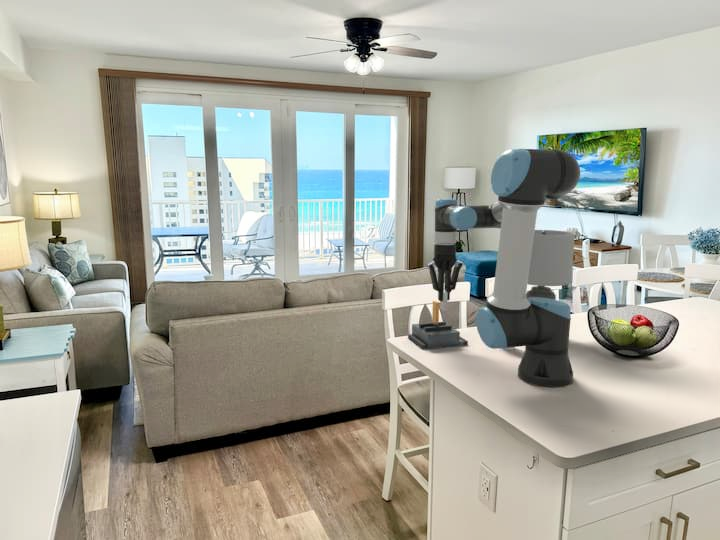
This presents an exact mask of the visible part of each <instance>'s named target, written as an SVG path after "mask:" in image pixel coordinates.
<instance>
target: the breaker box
mask: <svg viewBox="0 0 720 540" xmlns="http://www.w3.org/2000/svg"><path fill="white" fill-rule="evenodd" d="M411 334H412V335H413V336H415V337H416V338H417V339H419V340H420V341H422V342H423V343H424V344H426V349H427V350H431V349H442V348H451V347H460V346H459V341H460V337H461V336H460V335H461V332H460V331H459V330H457V329H455V328H454V327H453V325H451V324H447V323H446V321H439V326H435V325H433V324H432V322H425V323H423V322H422V323H412V324H411Z"/></svg>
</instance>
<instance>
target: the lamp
mask: <svg viewBox="0 0 720 540" xmlns="http://www.w3.org/2000/svg"><path fill="white" fill-rule="evenodd" d="M575 235H576V233H574V232H572V231H566V230H553V229H550V230H549V229H535V231H534V239H533V246H532V253H531V261H530V268H529V275H528V283H527V286H528V285H530V286H531V289H530V290H527V291H526V298H527V299H528V298H530V297H542V298H549V299H554V300H557V295H556V294H555V292H553V291H552V288H551V287H560V286H561V287H563V286H568V285H571V284H572V281H573V269H574V267H573V266H574V254H575V253H574V252H575V239H576V238H575V237H576V236H575Z"/></svg>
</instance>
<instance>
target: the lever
mask: <svg viewBox="0 0 720 540" xmlns="http://www.w3.org/2000/svg"><path fill="white" fill-rule="evenodd" d="M439 311H440V302H438V301H436V300H432V313H431V314H432V317H431V318H432V319H431V320H432V322H431V323H432V324H433V325H435V326H439V322H440V321H439V320H440V318H439V317H440V312H439Z"/></svg>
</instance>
